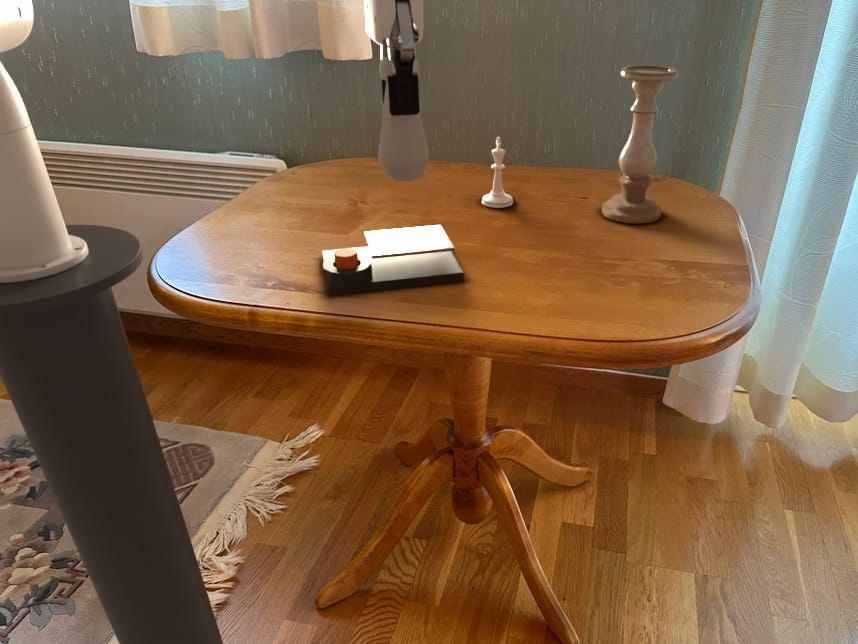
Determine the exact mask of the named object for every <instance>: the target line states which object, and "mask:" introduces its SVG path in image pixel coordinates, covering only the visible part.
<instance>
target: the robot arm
mask: <svg viewBox="0 0 858 644" xmlns="http://www.w3.org/2000/svg"><path fill="white" fill-rule="evenodd" d="M34 15H35V13H34V7H33V0H0V53H4V52H8V51H10V50H13V49H14V48H17V47H18V46H19V47H20V45H22V44H23V43H24V42H25V41H26V40H27V39H28V37H30V34H31V32H32V30H33V26H34V18H35V17H34ZM364 18H365V19H364V20H365V32H366V35H367V36H368V37H369V38H370V39H371V40H372V41H373V42H374V43H376V44H377V45H379V46H380V62H381V61H382V59H383V58H385V57H389V68H390V75H387V79H388V95H389V110H390V113H391V115H393V116H399V115H416V114H418V113H419V111H420V112H421V110H420V89H419V87H420V86H419V78H418V75H417V61H418V60H417V50H416V48H417V47H416V44H419V43H420V42H421V41H422V40H423V38H424V0H364ZM416 60H417V61H416ZM380 80H381V95H382V104H383V105H384V97H385V87H386V81H385V80H383V79H381V78H380ZM25 105H26V104H25V103H24V101H23V98H22V96H21V94H20V92H19V90H18V87H17V86H16V84H15V82H14V81H13V79H12V77H11V75H10V74H9V73H8V71H7V70H6V68H5V67H4V65H3V63H2V62H1V61H0V283H15V282H24V281H30V280H35V279H40V278H44V277H48V276H51V275H55V274H57V273H60V272H63V271H66V270H68V269H70V268H72V267H74V266H76V265H77V264H79V263H80V262H82V261H83V260H84V259H85V258H86V256H87V255H88V252H89V250H88V247H87V244H86V242H85V241H84V240H83V239H81V238H79V237H76V236H72V235H68V232H67V229H66V226H65V225H66V224H65V220H64V218H63V214H62V211H61V209H60V205H59V203H58V199H57V196H56V194H55V190H54V188H53V184H52V181H51V179H50V175H49V173H48V170H47V167H46V163H45V161H44V157H43V155H42V151H41V149H40V146H39V142H38V140H37V137H36V134H35V131H34V129H33V125H32V122H31V120H30V117H29V113H28V111H27V108H26V106H25Z"/></svg>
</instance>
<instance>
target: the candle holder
mask: <svg viewBox="0 0 858 644" xmlns="http://www.w3.org/2000/svg"><path fill="white" fill-rule="evenodd" d="M619 74H620V77H621V78H623V79H626V80H631V81H632V83H631V89H632V90H633V91H634V93H635V100H634V102H633V103H632V105H631V106H630V108H629V110H630V111H631V112H632V113H633V116H632V117H633V118H632V123H631V129H630V134H629V136H628V139H627V141H626V143H625V144H624V146H623V147H622V150H621V152H620V154H619V156H618V167H619V169H620V171H621V173H622V175H620V176H619V177H618V182H619V184H620V187H621V193H618V194H614V195H612V196H611V197H610V198H609V199H608V200H607V201H605V202H603V204H602V205H601V213H602V215H603V216H604V217H606V218H607V219H609V220H612V221H615V222H619V223H624V224H625V223H626V224H648V223H653V222H656V221H658V220H659V219H660V218H661V215H662V208H661V206H659V205H658V204H657V203H656V201H655V199H654V198H652V197H650V196H648V195H646V192H647V189H648V188H649V187H650V186H651V185H652V183H653V182H652V178H651V177H650V176H649V175H651V174H652V173H653V172H654V170H655V169H656V167H657V164H658V155H657V152H656V148H655V144H654V141H653V124H654V118H655V114H657V113H659V107H658V104H657V102H656V100H657V96H658V95H659V93H660V92H661V91H662V90H663V88H664V82H670V81H674V80H676V79H678V77H679V72H678V70H677V69H676V68H674V67H671V66H665V65H664V66H663V65H656V64H655V65H652V64H634V65H627V66H623V67H622V68H621V70H620V73H619Z"/></svg>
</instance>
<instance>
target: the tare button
mask: <svg viewBox="0 0 858 644" xmlns="http://www.w3.org/2000/svg"><path fill="white" fill-rule="evenodd" d="M351 248H352V247H346V248H344V247H343V248H338V249H339V250H337V251H335V253H334V255H335V264H336V268H338V269H353V268H355V267H358V255H357V251H356V250H355V249H351Z"/></svg>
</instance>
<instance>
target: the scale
mask: <svg viewBox="0 0 858 644" xmlns="http://www.w3.org/2000/svg"><path fill="white" fill-rule="evenodd" d="M350 248H351V249H355V250H356V251H357V255H358V267H355V268H353V269H338V268H336V264H335V255H334V253H335V251H337V250H339V249H340V248H337V249H325V250H321V256H322V257H321V258H322V271H323V272H322V273H323V278H324V279H323V280H324V283H325V284H326V286H327V291H328V297H335V296H343V295H344V296H345V295H352V294H363V293H370V292H371V293H372V292H380V291H388V290H399V289H407V288H415V287H416V288H417V287H425V286H433V285H443V284H452V283H460V282H465V272H464V270H463V269H462V267H461V265H460V264H459V262H458V260H457V259H456V257H455V255H454V253H453V251H446V252H436V253H426V254H416V255H407V256H397V257H387V258H377V259H372V257H371V254H370V251H369V248H368V245H367V246H358V247H350Z"/></svg>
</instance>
